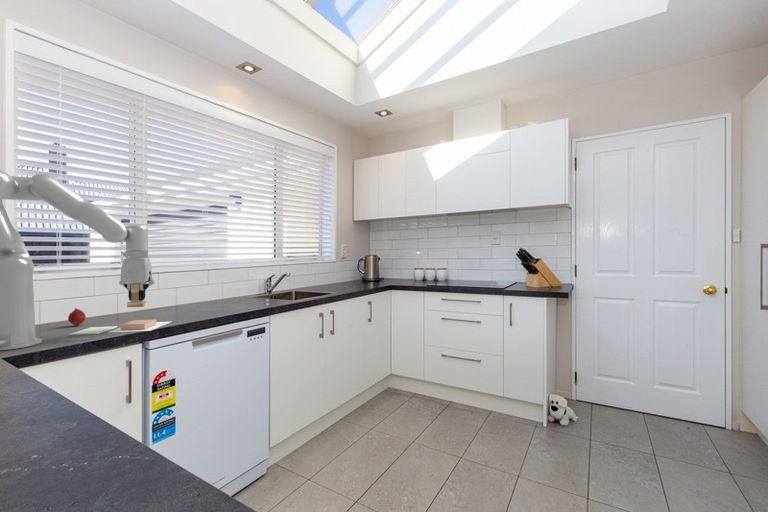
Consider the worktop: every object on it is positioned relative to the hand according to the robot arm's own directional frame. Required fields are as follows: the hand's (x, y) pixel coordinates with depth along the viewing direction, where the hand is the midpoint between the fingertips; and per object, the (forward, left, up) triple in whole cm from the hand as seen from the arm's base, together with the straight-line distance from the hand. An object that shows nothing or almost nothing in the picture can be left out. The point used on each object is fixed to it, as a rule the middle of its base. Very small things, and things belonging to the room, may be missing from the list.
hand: (137, 299), depth 148 cm
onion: (+13, +32, -12) cm, 37 cm away
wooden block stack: (0, 0, -3) cm, 3 cm away
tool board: (-4, +14, -12) cm, 19 cm away
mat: (+1, -1, -12) cm, 12 cm away
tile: (+4, -1, -10) cm, 11 cm away
